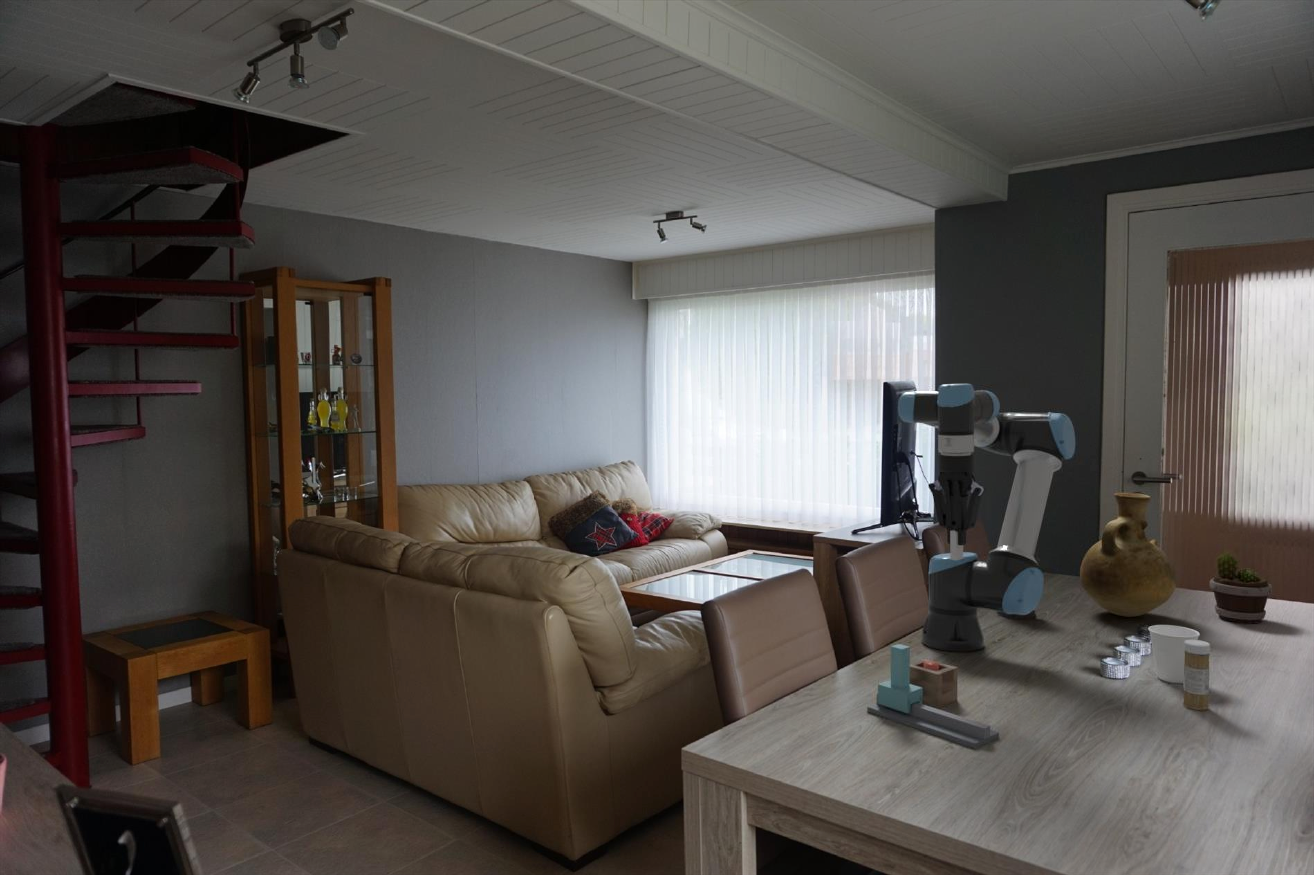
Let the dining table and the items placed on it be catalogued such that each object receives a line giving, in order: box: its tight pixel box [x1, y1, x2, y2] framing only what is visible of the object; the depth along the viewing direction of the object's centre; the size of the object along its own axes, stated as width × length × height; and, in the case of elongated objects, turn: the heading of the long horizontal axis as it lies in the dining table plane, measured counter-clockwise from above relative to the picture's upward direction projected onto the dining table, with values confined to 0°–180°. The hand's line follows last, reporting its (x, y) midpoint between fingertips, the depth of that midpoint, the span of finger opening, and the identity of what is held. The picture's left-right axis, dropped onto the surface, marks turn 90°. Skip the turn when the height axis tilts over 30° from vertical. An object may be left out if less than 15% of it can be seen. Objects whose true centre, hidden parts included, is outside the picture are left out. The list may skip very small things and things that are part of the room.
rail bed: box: [866, 692, 1000, 750], centre depth 169 cm, size 24×8×3 cm, turn 39°
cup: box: [1147, 624, 1201, 684], centre depth 194 cm, size 10×10×11 cm
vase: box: [1079, 492, 1177, 618], centre depth 248 cm, size 24×24×35 cm
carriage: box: [877, 643, 923, 713], centre depth 174 cm, size 7×5×12 cm
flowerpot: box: [1209, 547, 1273, 624], centre depth 243 cm, size 14×15×20 cm
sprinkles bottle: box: [1182, 639, 1211, 711], centre depth 177 cm, size 5×5×14 cm
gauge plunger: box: [924, 660, 939, 671], centre depth 182 cm, size 3×3×4 cm
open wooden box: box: [910, 658, 959, 709], centre depth 183 cm, size 8×7×7 cm
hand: (956, 558), depth 194 cm, fingers closed
